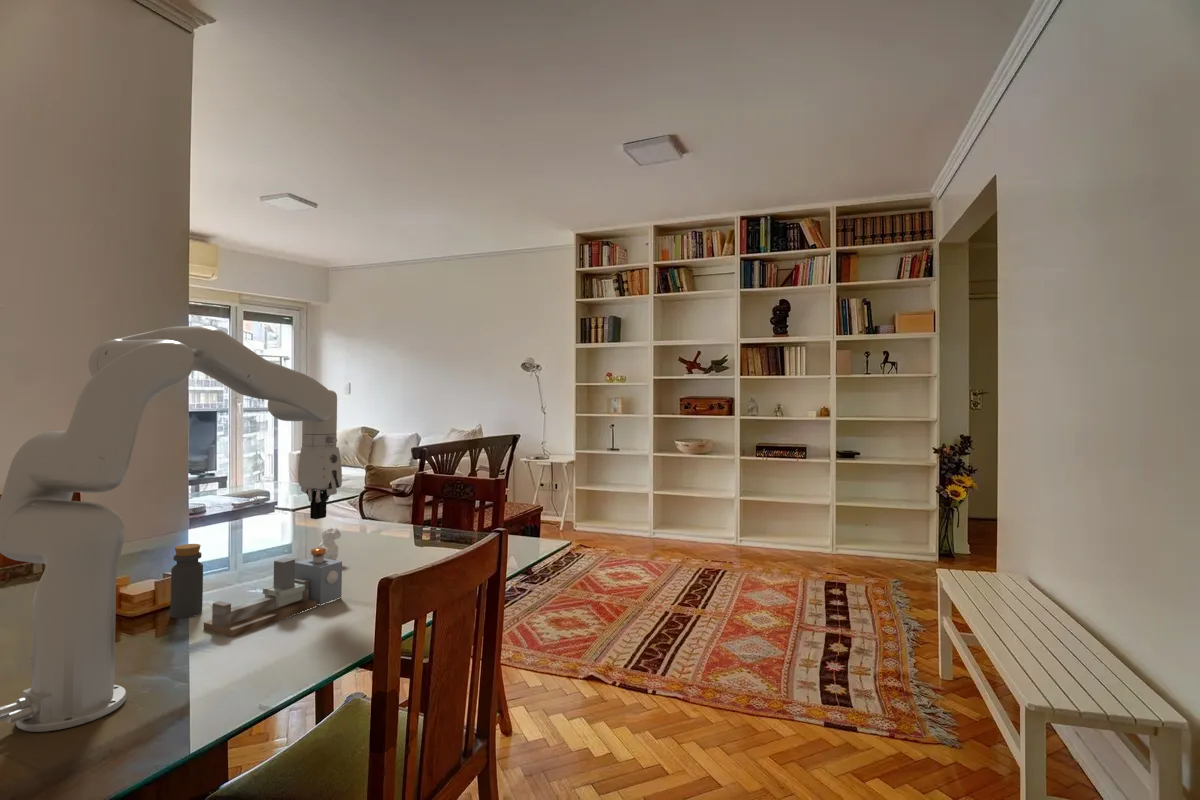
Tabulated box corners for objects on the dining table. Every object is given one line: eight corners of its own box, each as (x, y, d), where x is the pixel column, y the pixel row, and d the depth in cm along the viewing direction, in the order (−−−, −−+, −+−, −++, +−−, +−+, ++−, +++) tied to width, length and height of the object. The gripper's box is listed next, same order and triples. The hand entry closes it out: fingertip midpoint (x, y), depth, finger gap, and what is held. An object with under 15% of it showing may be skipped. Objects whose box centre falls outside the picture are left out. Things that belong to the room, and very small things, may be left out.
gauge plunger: (317, 574, 142) (317, 551, 142) (307, 573, 144) (308, 550, 144) (328, 571, 145) (328, 548, 145) (318, 569, 147) (319, 547, 147)
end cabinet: (321, 606, 140) (322, 567, 140) (293, 600, 144) (294, 562, 144) (342, 599, 145) (343, 561, 145) (314, 593, 149) (315, 556, 149)
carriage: (280, 607, 132) (281, 564, 132) (262, 603, 135) (263, 561, 135) (304, 599, 138) (305, 558, 138) (286, 595, 140) (287, 555, 140)
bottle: (186, 619, 130) (187, 550, 130) (163, 617, 131) (164, 548, 131) (208, 610, 136) (210, 543, 136) (186, 608, 137) (188, 542, 137)
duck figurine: (328, 576, 172) (355, 542, 175) (305, 562, 169) (333, 527, 172) (324, 565, 182) (349, 534, 185) (302, 552, 179) (328, 520, 182)
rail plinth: (231, 637, 121) (232, 607, 121) (203, 629, 125) (204, 601, 125) (316, 607, 139) (317, 581, 139) (289, 601, 143) (290, 576, 143)
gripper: (354, 441, 145) (353, 518, 145) (310, 439, 151) (309, 512, 151) (328, 443, 138) (327, 524, 138) (283, 440, 144) (282, 517, 144)
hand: (318, 517), depth 144 cm, fingers closed
